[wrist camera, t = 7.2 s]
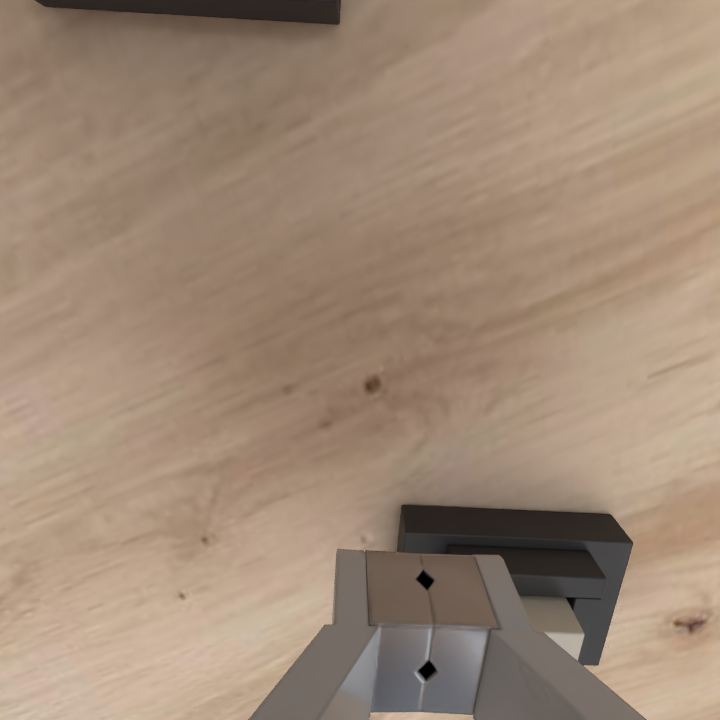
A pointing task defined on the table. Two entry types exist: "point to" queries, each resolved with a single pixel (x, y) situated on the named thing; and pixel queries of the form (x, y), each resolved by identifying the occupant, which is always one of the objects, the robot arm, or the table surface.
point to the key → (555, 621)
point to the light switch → (219, 8)
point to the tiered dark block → (535, 555)
